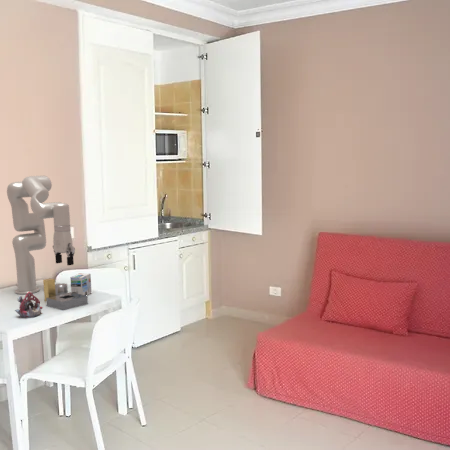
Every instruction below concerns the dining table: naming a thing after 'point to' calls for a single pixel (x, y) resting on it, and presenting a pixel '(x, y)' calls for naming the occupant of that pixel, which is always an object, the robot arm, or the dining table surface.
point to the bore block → (67, 301)
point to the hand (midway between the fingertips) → (64, 263)
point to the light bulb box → (81, 284)
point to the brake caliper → (29, 306)
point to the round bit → (61, 289)
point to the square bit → (49, 288)
